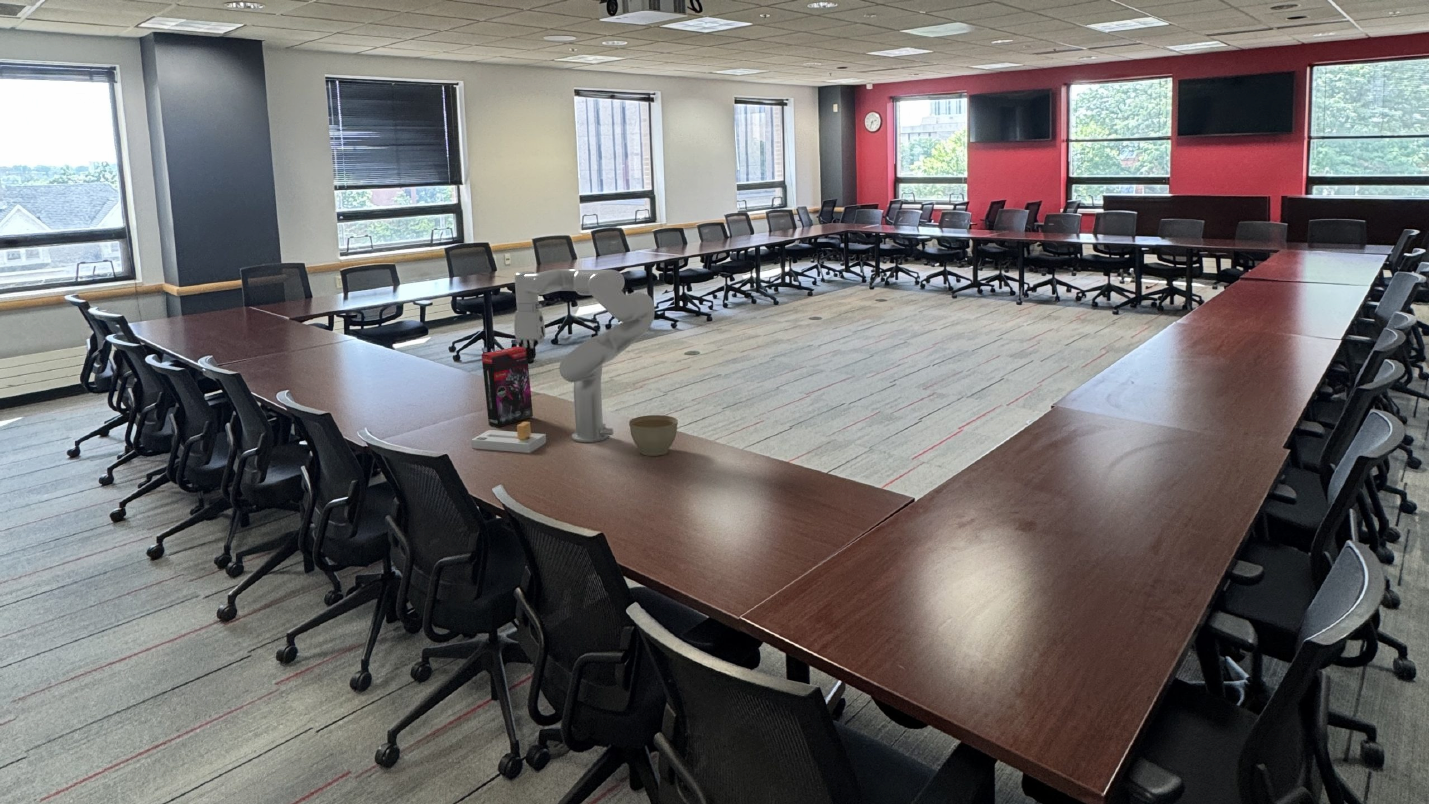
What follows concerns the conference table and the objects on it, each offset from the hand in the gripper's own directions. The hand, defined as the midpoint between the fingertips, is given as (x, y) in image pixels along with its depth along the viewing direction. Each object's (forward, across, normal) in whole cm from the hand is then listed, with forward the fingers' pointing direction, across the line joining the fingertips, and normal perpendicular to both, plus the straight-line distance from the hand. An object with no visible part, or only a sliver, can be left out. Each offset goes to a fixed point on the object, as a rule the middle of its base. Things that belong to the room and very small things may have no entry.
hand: (531, 358), depth 325 cm
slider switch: (+27, +2, +17) cm, 32 cm away
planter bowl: (+27, -50, +12) cm, 58 cm away
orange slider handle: (+26, -5, +17) cm, 31 cm away
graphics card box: (+27, +16, -10) cm, 33 cm away
